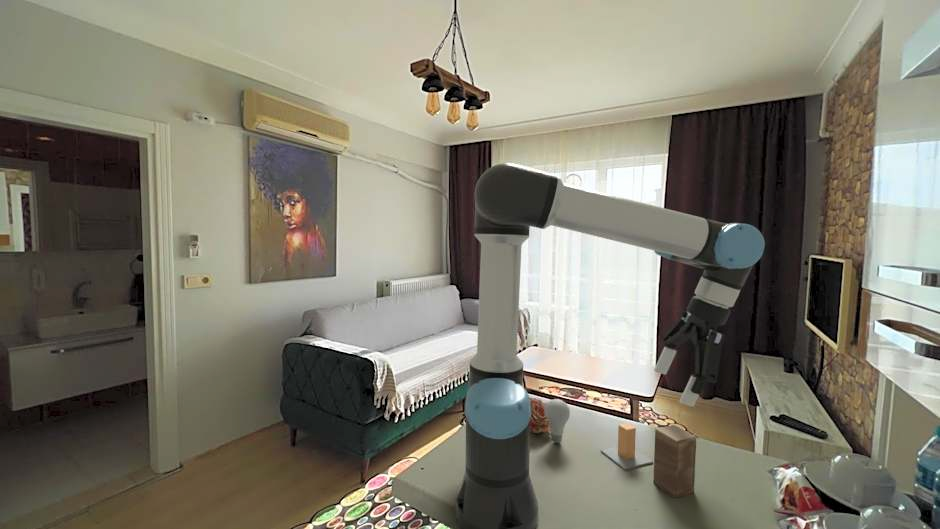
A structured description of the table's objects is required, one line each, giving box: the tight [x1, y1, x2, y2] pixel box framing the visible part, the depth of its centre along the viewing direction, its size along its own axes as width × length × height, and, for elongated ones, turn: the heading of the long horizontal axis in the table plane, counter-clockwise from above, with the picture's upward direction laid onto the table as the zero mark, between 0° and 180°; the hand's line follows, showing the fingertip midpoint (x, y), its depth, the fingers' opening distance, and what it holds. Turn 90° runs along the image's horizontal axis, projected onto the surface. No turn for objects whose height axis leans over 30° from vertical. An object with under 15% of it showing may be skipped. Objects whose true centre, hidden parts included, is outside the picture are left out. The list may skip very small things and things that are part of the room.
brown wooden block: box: [653, 424, 697, 499], centre depth 78 cm, size 5×5×12 cm
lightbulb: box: [545, 398, 571, 444], centre depth 96 cm, size 6×6×11 cm
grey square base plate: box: [600, 422, 654, 471], centre depth 90 cm, size 8×8×7 cm
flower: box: [529, 397, 550, 437], centre depth 102 cm, size 10×9×8 cm
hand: (671, 387), depth 87 cm, fingers open, 13 cm apart
